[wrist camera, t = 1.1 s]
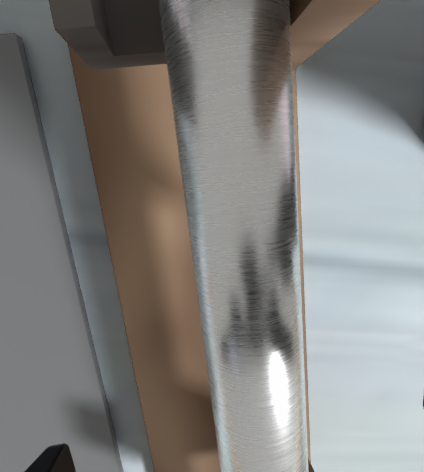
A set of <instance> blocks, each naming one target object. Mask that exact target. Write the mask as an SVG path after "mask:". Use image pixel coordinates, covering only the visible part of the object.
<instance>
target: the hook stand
mask: <svg viewBox="0 0 424 472" xmlns="http://www.w3.org/2000/svg"><path fill="white" fill-rule="evenodd" d="M379 1H380V0H289V3H290V27H291V52H292V77H293V101H294V126H295V150H296V175H297V200H298V224H299V249H300V273H301V298H302V323H303V347H304V372H305V396H306V421H307V446H308V470H309V472H314V470H313V468H312V466H311V459H310V432H309V406H308V380H307V354H306V327H305V301H304V275H303V249H302V222H301V196H300V170H299V143H298V117H297V91H296V68H297V67H298V66H299V65H300V64H302V63H303V62H304V61H305V60H307V59H308V58H309V57H310V56H312V55H313V54H314V53H315V52H317V51H318V50H319V49H320V48H322V47H323V46H324V45H325V44H327V43H328V42H329V41H330V40H332V39H333V38H334V37H335V36H337V35H338V34H339V33H340V32H342V31H343V30H344V29H345V28H346V27H348V26H349V25H350V24H351V23H353V22H354V21H355V20H356V19H358V18H359V17H360V16H361V15H363V14H364V13H365V12H366V11H368V10H369V9H370V8H371V7H373V6H374V5H375V4H376V3H378V2H379ZM49 4H50V9H51V13H52V18H53V23H54V28H55V30H56V31H57V32H58V33H59V34H60V35H61V36H62V38H63V39H64V40H65V41H66V42H67V43H68V47H69V52H70V57H71V62H72V67H73V72H74V77H75V82H76V86H77V91H78V96H79V101H80V106H81V111H82V116H83V121H84V126H85V131H86V136H87V141H88V146H89V151H90V156H91V161H92V166H93V171H94V175H95V180H96V185H97V190H98V195H99V200H100V205H101V210H102V215H103V220H104V225H105V230H106V235H107V240H108V245H109V250H110V255H111V259H112V264H113V269H114V274H115V279H116V284H117V289H118V294H119V299H120V304H121V309H122V314H123V319H124V324H125V329H126V334H127V339H128V343H129V348H130V353H131V358H132V363H133V368H134V373H135V378H136V383H137V388H138V393H139V398H140V403H141V408H142V413H143V418H144V423H145V427H146V432H147V437H148V442H149V447H150V452H151V457H152V462H153V467H154V472H221V469H220V462H219V454H218V447H217V439H216V432H215V424H214V417H213V409H212V401H211V394H210V386H209V379H208V371H207V364H206V356H205V349H204V341H203V334H202V326H201V319H200V311H199V304H198V296H197V288H196V281H195V273H194V266H193V258H192V251H191V243H190V236H189V228H188V221H187V213H186V206H185V198H184V191H183V183H182V175H181V168H180V160H179V153H178V145H177V138H176V130H175V123H174V115H173V108H172V100H171V93H170V85H169V77H168V70H167V62H166V55H165V47H164V40H163V32H162V25H161V17H160V10H159V2H158V0H49Z"/></svg>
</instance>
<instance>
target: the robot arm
mask: <svg viewBox="0 0 424 472" xmlns="http://www.w3.org/2000/svg"><path fill="white" fill-rule="evenodd" d="M423 407H424V398H423ZM24 472H76V469H75V465H74V462H73V459H72V455H71V452H70V448H69V446H68V445H67V444H65V443H63V444H57V445H52V446H49V447H47V448H46V449H45V450H44V451H43V452H42V453H41V454H40V455H39V456H38V458H37V459H36V460H35V461H34V462H33V463H32V464H31V465H30V466H29V467H28V468H27V469H26V470H25V471H24Z"/></svg>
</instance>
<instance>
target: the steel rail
mask: <svg viewBox="0 0 424 472" xmlns="http://www.w3.org/2000/svg"><path fill="white" fill-rule="evenodd" d="M158 2H159V10H160V17H161V25H162V32H163V40H164V47H165V55H166V62H167V70H168V77H169V85H170V93H171V100H172V108H173V115H174V123H175V130H176V138H177V145H178V153H179V160H180V168H181V175H182V183H183V191H184V198H185V206H186V213H187V221H188V228H189V236H190V243H191V251H192V258H193V266H194V273H195V281H196V288H197V296H198V304H199V311H200V319H201V326H202V334H203V341H204V349H205V356H206V364H207V371H208V379H209V386H210V394H211V401H212V409H213V417H214V424H215V432H216V439H217V447H218V454H219V462H220V469H221V472H309V470H308V446H307V421H306V396H305V372H304V347H303V323H302V298H301V273H300V249H299V224H298V200H297V175H296V150H295V126H294V101H293V77H292V52H291V27H290V3H289V0H158Z"/></svg>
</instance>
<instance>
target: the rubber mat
mask: <svg viewBox="0 0 424 472" xmlns="http://www.w3.org/2000/svg"><path fill="white" fill-rule="evenodd" d="M63 443H65V444H67V445H68V446H69V448H70V452H71V455H72V459H73V462H74V465H75V469H76V472H123V468H122V464H121V460H120V456H119V451H118V447H117V443H116V439H115V434H114V430H113V426H112V421H111V417H110V413H109V409H108V404H107V400H106V396H105V392H104V387H103V383H102V379H101V375H100V370H99V366H98V362H97V358H96V353H95V349H94V345H93V341H92V336H91V332H90V328H89V324H88V319H87V315H86V311H85V307H84V302H83V298H82V294H81V290H80V285H79V281H78V277H77V273H76V268H75V264H74V260H73V256H72V251H71V247H70V243H69V239H68V234H67V230H66V226H65V222H64V217H63V213H62V209H61V205H60V200H59V196H58V192H57V188H56V183H55V179H54V175H53V170H52V166H51V162H50V158H49V153H48V149H47V145H46V141H45V136H44V132H43V128H42V124H41V119H40V115H39V111H38V107H37V102H36V98H35V94H34V90H33V85H32V81H31V77H30V73H29V68H28V64H27V60H26V56H25V51H24V47H23V43H22V39H21V38H20V37H19V36H18V35H16V34H15V33H14V34H1V35H0V472H24V471H25V470H26V469H27V468H28V467H29V466H30V465H31V464H32V463H33V462H34V461H35V460H36V459H37V458H38V456H39V455H40V454H41V453H42V452H43V451H44V450H45V449H46V448H47V447H49V446H52V445H57V444H63Z"/></svg>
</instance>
